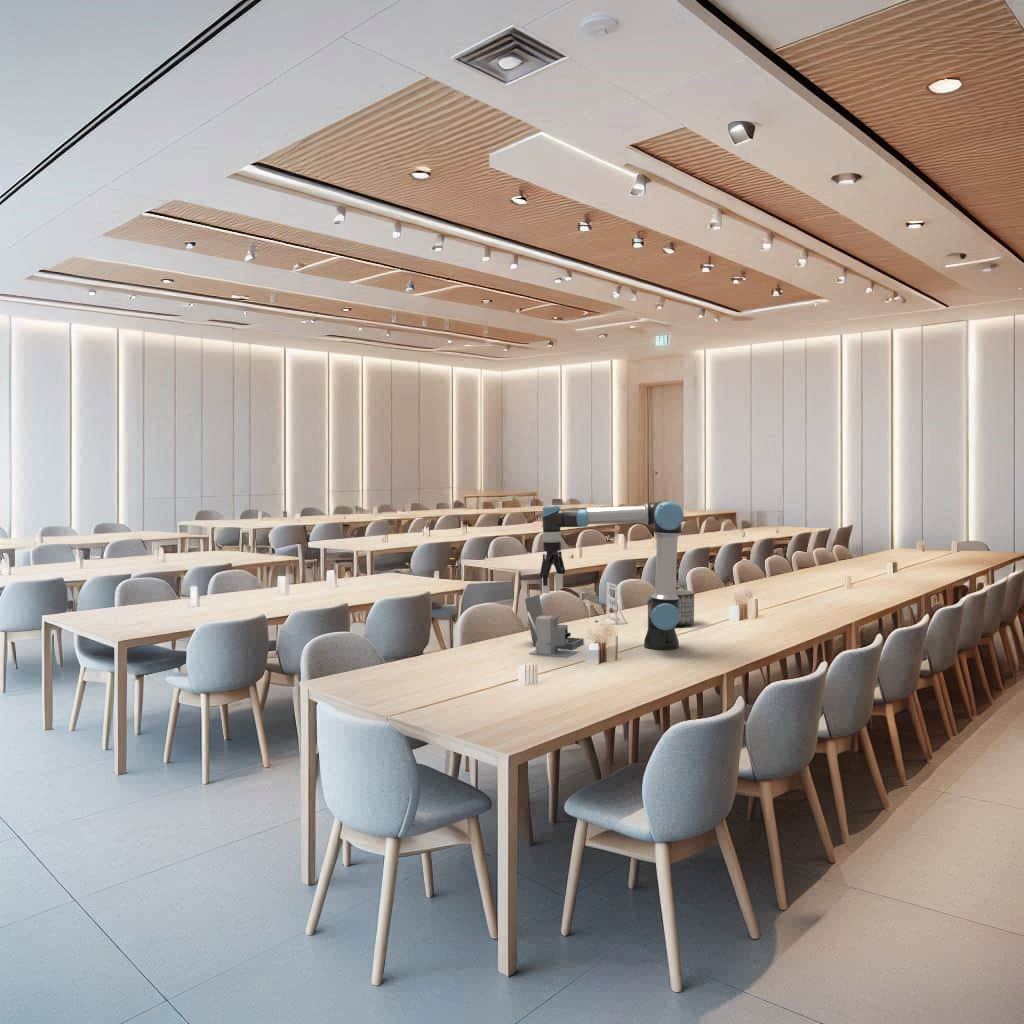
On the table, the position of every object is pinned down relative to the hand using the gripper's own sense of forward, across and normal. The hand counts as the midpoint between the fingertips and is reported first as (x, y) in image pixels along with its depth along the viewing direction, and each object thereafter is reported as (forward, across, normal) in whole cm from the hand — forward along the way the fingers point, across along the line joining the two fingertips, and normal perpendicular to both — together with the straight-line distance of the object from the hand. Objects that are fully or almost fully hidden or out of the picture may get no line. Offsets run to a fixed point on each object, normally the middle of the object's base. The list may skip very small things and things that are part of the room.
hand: (553, 591), depth 365 cm
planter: (+28, -84, +28) cm, 92 cm away
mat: (+27, 0, 0) cm, 27 cm away
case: (+27, -15, -7) cm, 32 cm away
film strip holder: (+27, -78, -4) cm, 83 cm away
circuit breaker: (+27, 0, 0) cm, 27 cm away
